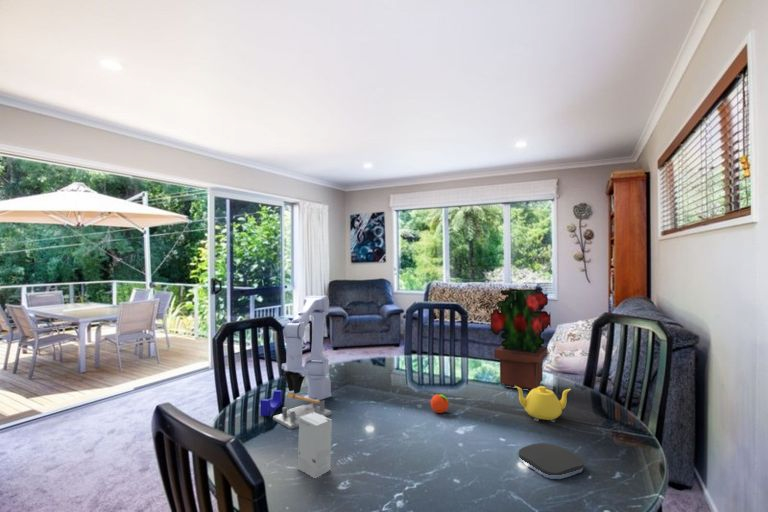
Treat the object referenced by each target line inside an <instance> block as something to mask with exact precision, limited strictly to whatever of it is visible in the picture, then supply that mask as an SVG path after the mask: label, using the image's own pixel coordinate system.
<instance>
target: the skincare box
mask: <svg viewBox="0 0 768 512" xmlns="http://www.w3.org/2000/svg"><path fill="white" fill-rule="evenodd" d="M332 431H333V420H332V419H330V418H329V417H327V416H323V415H320V414H318V413H315V412H313V413H310V414H307V415H304V416H301V417H299V426H298V439H297V440H298V443H297V445H298V446H297V464H296V465H297V467H296V468H297V470H299V471H301V472H303V473H304V472H305V473H304V474H307V476H309V475H310V477H311V478H312V477H313V479H314V478H316V479H318V478H320V477H322V476H323V475H322V474H324V473H326V472H327V471H329V470H330V471H331V463H332V461H331V460H332V459H331V458H332ZM330 471H329V472H330ZM326 474H327V473H326ZM321 475H322V476H321ZM324 475H325V474H324ZM319 476H320V477H319ZM317 477H318V478H317Z"/></svg>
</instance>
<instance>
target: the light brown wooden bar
mask: <svg viewBox="0 0 768 512" xmlns="http://www.w3.org/2000/svg"><path fill="white" fill-rule="evenodd" d="M286 396H287V397H288V398H290V399H294V400H298V401H299V400H300V401H304V402H308V403H309V402H310V403H317V405H318V406H320V401H321V400H317V399H315V400H314V399H310V398H305V397H304V396H300V395H297V394H295V393H294V392H291V391H289V392H287V394H286Z"/></svg>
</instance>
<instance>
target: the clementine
mask: <svg viewBox="0 0 768 512" xmlns="http://www.w3.org/2000/svg"><path fill="white" fill-rule="evenodd" d="M449 404H450V401H449V399H448V398H447V397H446V396H445V395H444V394H441V393H439V394H438V393H436V394H435V395H433V396H432V398H431V399H430V406H431V409H432V410H433V411H434V412H435V413H437V414H443V413H445V412H447V410H448V408H449Z"/></svg>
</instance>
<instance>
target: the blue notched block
mask: <svg viewBox="0 0 768 512" xmlns="http://www.w3.org/2000/svg"><path fill="white" fill-rule="evenodd" d="M272 394H273V395H272V396H271V397H270V398H268V399H267V398H261V399H260V416H261V417H268V416H270V415H271V414H272V413H274V412H275V411H276V410H277V409H278V408H279V407H281V406H282V405H283V390H281V389H275V390H273V393H272Z"/></svg>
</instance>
